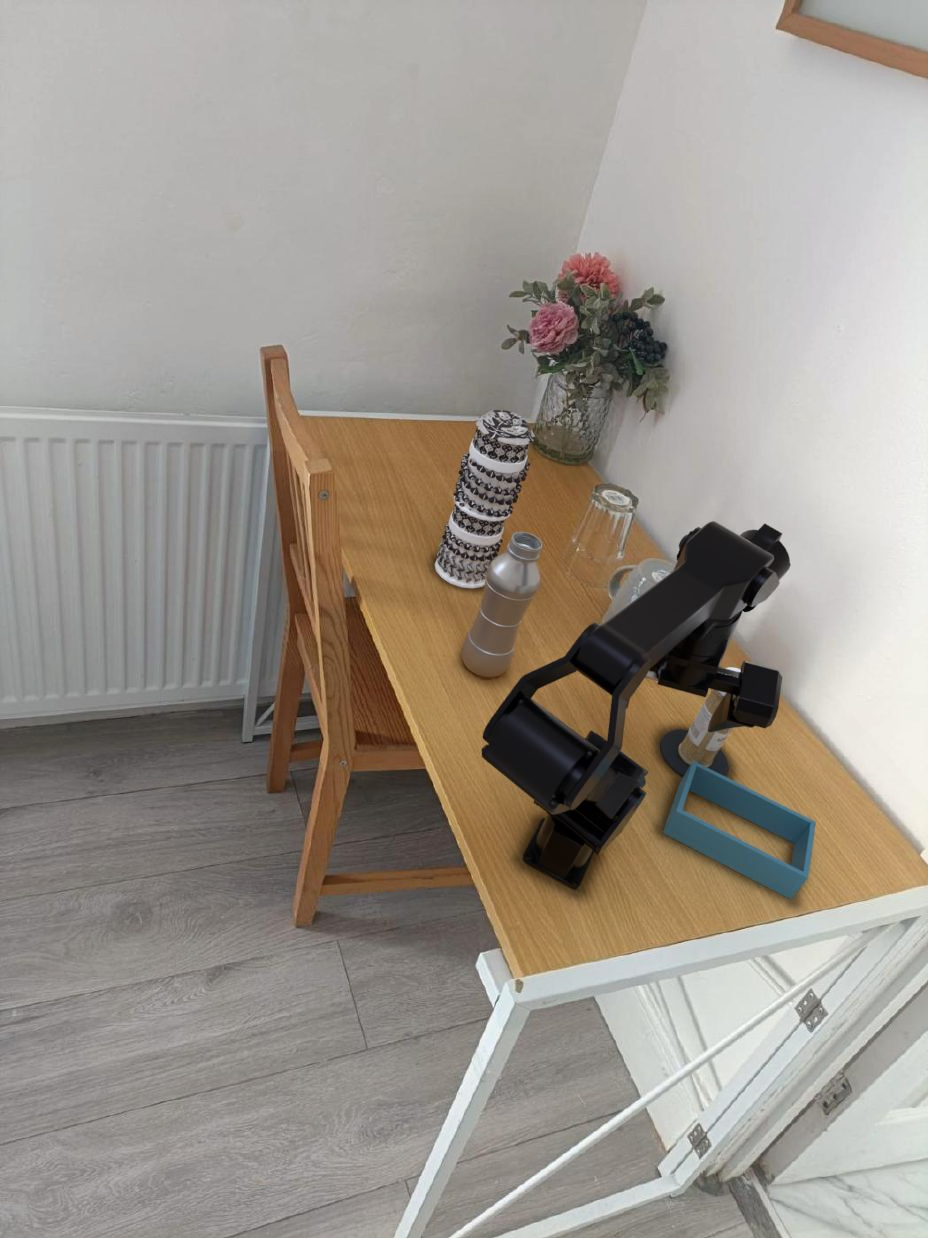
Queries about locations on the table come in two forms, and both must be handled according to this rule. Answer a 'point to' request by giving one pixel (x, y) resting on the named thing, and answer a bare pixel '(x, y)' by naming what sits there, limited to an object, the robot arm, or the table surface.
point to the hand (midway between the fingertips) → (667, 716)
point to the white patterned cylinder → (484, 497)
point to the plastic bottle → (503, 606)
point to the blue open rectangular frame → (734, 849)
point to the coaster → (674, 760)
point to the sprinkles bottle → (704, 733)
